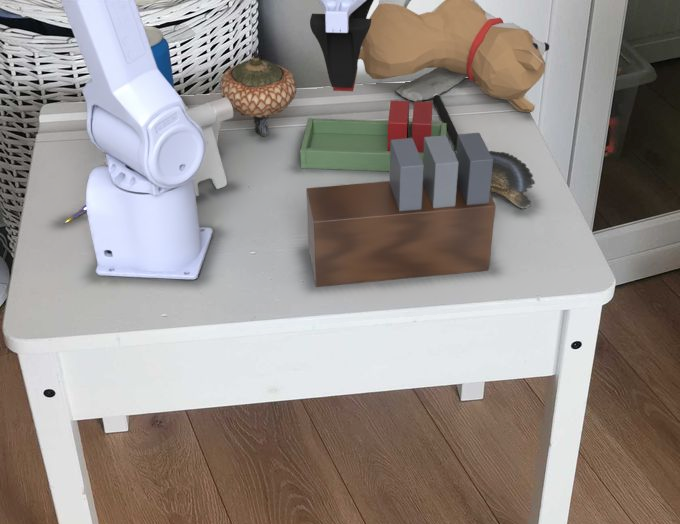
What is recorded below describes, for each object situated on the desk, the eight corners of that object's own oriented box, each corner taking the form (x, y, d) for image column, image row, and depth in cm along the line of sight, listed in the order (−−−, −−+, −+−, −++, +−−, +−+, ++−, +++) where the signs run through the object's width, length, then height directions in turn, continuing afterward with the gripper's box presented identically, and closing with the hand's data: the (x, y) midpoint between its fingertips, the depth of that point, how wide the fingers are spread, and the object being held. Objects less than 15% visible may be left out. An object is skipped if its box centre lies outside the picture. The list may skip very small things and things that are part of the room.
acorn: (218, 123, 113) (209, 38, 107) (289, 113, 115) (284, 29, 108) (231, 158, 107) (223, 71, 101) (306, 147, 109) (302, 60, 102)
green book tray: (300, 168, 106) (300, 150, 104) (308, 135, 111) (308, 117, 110) (444, 173, 104) (445, 155, 103) (445, 139, 110) (446, 122, 108)
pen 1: (66, 227, 98) (63, 222, 98) (63, 226, 98) (60, 220, 98) (176, 152, 103) (173, 146, 102) (173, 151, 103) (170, 145, 103)
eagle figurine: (443, 222, 95) (538, 207, 94) (433, 147, 94) (528, 131, 93) (445, 221, 103) (533, 207, 101) (435, 151, 102) (524, 137, 101)
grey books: (399, 211, 86) (400, 167, 83) (389, 183, 90) (390, 139, 87) (489, 203, 87) (493, 159, 84) (475, 175, 90) (479, 132, 88)
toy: (466, 11, 126) (577, 96, 117) (313, 88, 118) (419, 185, 109) (473, -61, 118) (593, 24, 109) (309, 17, 110) (424, 116, 101)
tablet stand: (208, 149, 108) (200, 77, 103) (244, 180, 103) (238, 106, 98) (136, 173, 105) (124, 100, 99) (170, 206, 100) (159, 131, 94)
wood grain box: (316, 287, 90) (313, 221, 85) (308, 251, 94) (306, 187, 89) (489, 270, 91) (495, 205, 87) (474, 236, 95) (479, 172, 91)
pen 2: (468, 178, 103) (468, 169, 102) (429, 95, 117) (429, 86, 117) (476, 177, 103) (477, 168, 102) (436, 94, 118) (437, 86, 117)
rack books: (387, 161, 105) (387, 122, 102) (389, 137, 109) (390, 100, 106) (429, 162, 105) (431, 124, 102) (430, 139, 109) (432, 101, 106)
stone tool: (389, 100, 117) (424, 106, 114) (388, 88, 116) (424, 94, 114) (451, 61, 126) (486, 66, 123) (451, 50, 125) (486, 55, 123)
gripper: (382, -38, 85) (380, 108, 93) (391, -92, 96) (389, 44, 104) (300, -39, 85) (305, 106, 94) (318, -93, 96) (322, 42, 105)
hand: (344, 73), depth 99 cm, fingers closed on red book, 5 cm apart
